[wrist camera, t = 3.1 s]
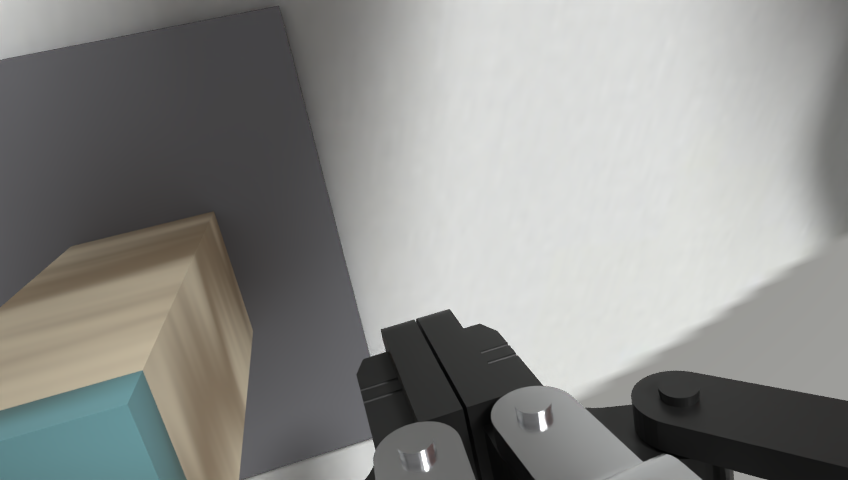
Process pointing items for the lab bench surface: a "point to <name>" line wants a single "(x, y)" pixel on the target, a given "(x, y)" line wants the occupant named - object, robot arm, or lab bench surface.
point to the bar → (127, 361)
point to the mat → (196, 200)
